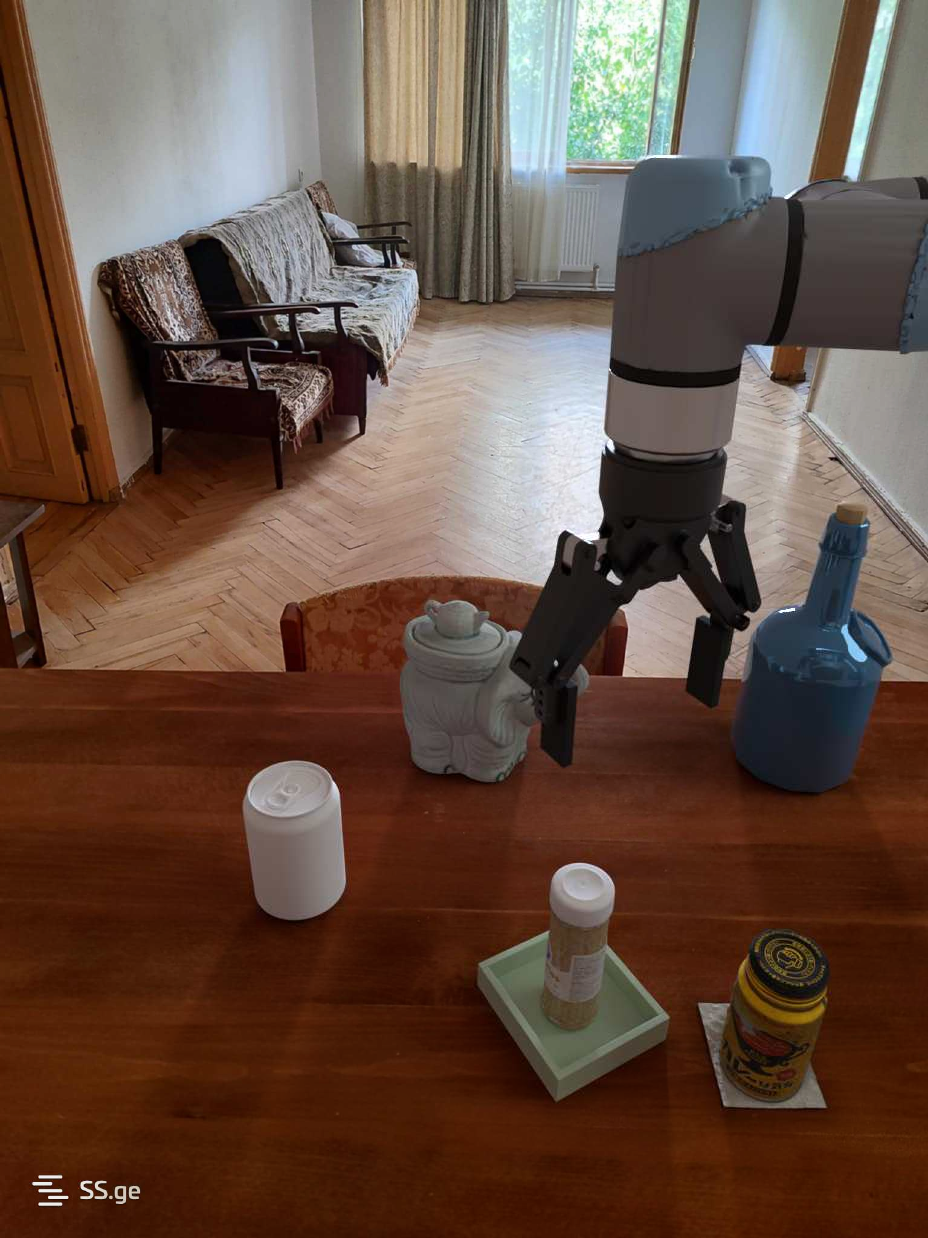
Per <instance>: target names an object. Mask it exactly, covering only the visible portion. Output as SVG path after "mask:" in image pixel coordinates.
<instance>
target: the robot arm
mask: <svg viewBox="0 0 928 1238" xmlns="http://www.w3.org/2000/svg"><path fill="white" fill-rule="evenodd" d="M771 180H772V169H771V165H770V163H769V161H767V160H766V159H765V158H763V157H760V156H753V155H731V154H729V155H722V154H721V155H720V154H715V155H714V154H662V155H659V154H658V155H651V156H648V157H645V158H643V159H642V160H639V162H637V164H636V165H635V166H634V167H633V168H632V170H630V171H629V173H628V175H627V178H626V180H625V187H624V197H623V202H622V203H623V204H622V212H621V217H620V218H621V220H620V225H619V226H620V227H619V234H618V243H617V251H616V262H615V278H614V293H613V305H612V307H613V308H612V321H611V336H610V337H611V338H610V350H609V351H610V352H609V363H608V372H607V373H608V374H607V375H608V376H607V386H606V398H605V412H604V421H603V422H604V423H603V431H604V434H605V436H607V438H608V439H607V441H605V442H604V443H603V444H602V447H601V455H600V456H601V457H600V466H599V467H600V469H599V481H598V496H599V500H600V503H601V507H602V512H603V516H602V517H603V518H602V521H601V524H600V525H599V528H598V529H597V532H596V533H589V534H582V535H581V534H578V533H576V532H574V531H573V530H572V529H571V530H570V529H565V530H563V531H561V533H560V534H559V535H558V538H557V543H556V549H555V554H554V562H553V566H552V568H551V570H550V572H549V575H548V577H547V579H546V581H545V583H544V585H543V588H542V590H541V592H540V594H539V597H538V599H537V601H536V603H535V604H534V605H535V606H534V608H533V610H532V611H531V614H530V617H529V619H528V621H527V623H526V626H525V627H524V630H523V632H522V633H521V634H522V636H521V639H520V641H519V643H518V645H517V648H516V650H515V652H514V654H513V656H512V659H511V661H510V664H509V668H510V670H511V671H512V672H513V673H514V674H516V675H517V676H518V677H519V678H520V679H522V680H523V681H524V682H525V683H526V684H527V685H529V686H530V687H531V688H532V689H535V703H534V704H535V705H534V713H535V715H536V717H537V718H538V719H539V720H540V721H541V722H540V742H539V748H540V749H541V750H542V751H543V752H544V753H546V754H547V755H548V756H549V757H550V758H551V759H552V760H553V761H554V762H555V763H556V764H558V766H559V767H561V768H562V769H565V768H568V767H571V766H572V765H573V757H574V756H573V755H574V744H575V743H574V742H575V731H576V718H577V716H576V715H577V704H578V698H577V692H578V685H577V684H575V683H574V682H573V681H572V680H570V678H571V677H572V676H573V674H574V673H575V671H576V670H577V668H578V667H579V665H580V664H581V665H582V662H583V661H584V660H585V659H586V657H587V655H589V652H590V651H591V650H592V648H593V646H594V645H595V644H596V643H597V641H598V639H600V637H601V636H602V634H603V632H604V631H605V629H606V628H607V626H608V625H609V624H610V622H611V621H612V619H613V618H614V616H615V615H616V614H617V612H618V610H619V609H620V607H622V606H625V605H628V604H630V603H631V602H632V601H633V599H634V598H635V596H636V595H637V594H638V592H639V591H644V590H647V589H650V588H652V587H654V586H656V585H657V584H659V583H670V582H674V581H677V580H678V577H679V576H680V578H681V579H682V580H683V582H684V583H685V585H686V586H687V587H688V589H689V590H690V591H691V593H692V594H693V595H694V597H695V598H696V600H697V601H698V603H699V604H700V605H701V607H702V608H703V609H704V611H705V612H706V613H708V614H709V617H708V616H706V615H705V614H702V615H699V616H696V617H695V623H694V630H693V637H692V643H691V649H690V656H689V663H688V670H687V677H686V682H685V688H684V689H685V690H684V692H686V693H687V694H689V695H690V696H691V697H693V698H695V699H696V700H697V701H699V702H700V703H702V704H703V705H705V706H706V707H707V708H709V709H713V708H715V707H717V706H719V700H720V696H721V689H722V684H723V679H724V673H725V667H726V661H728V659H729V657H730V655H731V650H732V645H733V640H734V639H733V638H734V634H735V630H736V631H738V632H739V633H743V632H745V631H746V630H747V629H748V628H749V627H750V624H751V618H750V617H749V616H747V615H745V614H747V612H749V613H751V614H754V613H756V612H757V611H759V609H760V608H761V607H762V597H761V594H760V590H759V585H758V581H757V577H756V576H757V575H756V573H755V569H754V565H753V560H752V557H751V553H750V549H749V544H748V541H747V536H746V532H745V528H746V516H747V504H746V503H744V502H742V501H740V500H737V499H736V498H733V497H731V496H728V495H726V494H724V493H723V489H724V483H725V478H726V470H727V463H728V454H727V452H726V450H725V449H724V448H725V447H726V446H727V445H728V444H729V443H730V442H731V441H732V437H733V436H732V435H733V430H734V422H735V415H736V408H737V401H738V394H739V387H740V380H741V372H742V364H743V358H744V354H745V351H746V347H747V346H762V347H794V348H795V347H796V348H816V349H836V350H838V349H839V350H858V351H859V350H860V351H878V352H879V351H880V352H899V355H908V354H910V353H919V352H921V353H922V352H928V174H920V175H919V176H910V177H909V176H908V177H907V176H905V177H891V178H879V179H869V180H860V181H859V180H858V181H848V180H846V179H842V178H827V179H826V178H825V179H820V180H815V181H811V182H809V183H806V184H804V185H801V186H799V187H798V188H797V187H796V189H794V190H792V191H791V192H790V193H789V194H787V195H786V196H785V197H784V196H774V195H773V191H774V189H773V187H772V185H771ZM706 536H707V538H708V542H709V546H710V549H711V553H712V556H713V559H714V564H715V566H716V570H717V574H718V577H719V578H718V577H717V575H716V574H715V572H714V570H713V564H712V562H711V561H710V559H709V558H708V557H707V556H706V554H705V552H704V550H702V545H701V544H702V543H703V540H705V537H706ZM610 572H612V574H613V575H614V576H615V577H616V578H617V579H618V580H620V581H621V582H620V583H619V584H616V583H614V582H612V581H611V580H609V579H608V575H610ZM555 660H556V661H557V662H558V665H557V666H556V665H554V662H555Z"/></svg>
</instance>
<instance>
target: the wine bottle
mask: <svg viewBox="0 0 928 1238" xmlns="http://www.w3.org/2000/svg"><path fill="white" fill-rule="evenodd" d="M868 513H869V509H868V507H867V506H866V504H864V503H862V502H859V501H855V500H843V501H841V502H840V503H838V504H837V506H836V509H835V512H833V513H830V515H829V517H828V519H827V521H826V524H825V526H824V529H823V532H822V535H821V537H820V540H819V542H818V543H817V547H818V548H819V550H818V553H817V558H816V561H815V565H814V568H813V572H812V576H811V579H810V583H809V586H808V590H807V593H806V597H805V599H804V601H801V602H796V603H793V604H790V605H786V606H781V607H779V608H775V609H773V610H771V611H769V612H768V613H767V614H766V615H765V616H764V617H763V618H762V620H761V621H760V622H759V624H758V625H757V627H756V628H755V630H754V631H753V632H752V634H751V635H750V638H749V642H748V646H747V651H746V656H745V661H744V666H743V671H742V677H741V681H740V685H739V689H738V695H737V699H736V700H737V701H736V705H735V710H734V714H733V720H732V725H731V730H730V734H729V738H730V741H731V744H732V748H733V752H734V753H735V757H736V760H737V762H738V764H739V765H741V766H742V767H743V768H744V769H746V770H747V771H748V772H750V774H752V775H753V776H754V777H756V778H757V779H758V780H759V781H761V782H765V783H767V784H769V785H773V786H775V787H778V788H781V789H783V790H786V791H788V792H799V793H800V792H802V793H824V792H826V791H829V790H831V789H834V788H837V787H839V786H842V785H845V783H846V782H848V781H849V780H850V778H851V776H852V773H853V771H854V768H855V767H856V765H857V762H858V758H859V755H860V752H861V748H862V745H863V742H864V739H865V735H866V731H867V729H868V726H869V722H870V718H871V715H872V712H873V709H874V705H875V701H876V698H877V695H878V691H879V688H880V685H881V681H882V678H883V675H884V672H885V668H886V667H888V666H889V665H891V664H892V663H893V659H894V657H893V654H892V651H891V648H890V646H889V644H888V641H887V639H886V638H885V636H884V634H883V633H882V631H881V629H880V628H879V627H878V625H877V624H876V623H875V622H874V620H873V619H871V617H869V616H868V615H866V614H865V613H863V612H862V611H861V610H859V609H858V608H856V607H855V608H853V606H854V601H855V597H856V593H857V587H858V583H859V579H860V578H859V577H860V573H861V568H862V565H863V559H864V558H865V557H866V555H867V554H868V553H869V550H868V546H869V538H870V530H871V521H870V520H869V519H868V517H867V516H868Z"/></svg>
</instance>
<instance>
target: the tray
mask: <svg viewBox="0 0 928 1238" xmlns="http://www.w3.org/2000/svg"><path fill="white" fill-rule="evenodd" d="M548 933H549V930H546V931H545V932H543V933H541V934H539V935H537V936H534V937H532V938H530V939H527V940H526V941H523V942H521V943H519V944H517V945H515V946H513V947H511V948H508V949H506V950H504V951H502V952H500V953H498V954H496V955H494V956H492V957H490V958H487V959H485V960H483V961H481V962H478V964H477V981H476V983H477V984H476V985H477V987H478V988H479V990H480V991H481V993H482V994H483V996H484V998H485V999H486V1000H487V1002H488V1004H489V1005H490V1006H491V1008H492V1009H493V1010H494V1012H495V1013H496V1015H497V1017H498V1018H499V1020H500V1021H501V1023H502V1024H503V1026H504V1027H505V1029H506V1031H508V1033H509V1034H510V1036H511V1038H512V1039H513V1041H514V1042H515V1043H516V1045H517V1047H518V1048H519V1050H520V1051H521V1052H522V1054H523V1056H524V1057H525V1059H526V1060H527V1062H528V1063H529V1064H530V1066H531V1068H532V1069H533V1070H534V1072H535V1073H536V1075H537V1076H538V1078H539V1080H540V1081H541V1082H542V1084H543V1085H544V1087H545V1088H546V1090H547V1091H548V1092H549V1094H550V1096H551V1097H552V1099H553V1100H554V1102H555V1103H557V1102H559V1101H561V1100H563V1099H565V1098H566V1097H568V1096H569V1095H571V1094H573V1093H575V1092H576V1091H578V1090H580V1089H581V1088H583V1087H585V1086H587V1085H589V1084H590V1083H592V1082H594V1081H596V1080H597V1079H599V1078H601V1077H602V1076H604V1075H606V1074H608V1073H610V1072H612V1071H613V1070H615V1069H617V1068H618V1067H621V1066H622V1065H623V1064H625V1063H627V1062H629V1061H631V1060H632V1059H634V1058H636V1057H638V1056H639V1055H641V1054H643V1053H645V1052H647V1051H648V1050H650V1049H651V1048H653V1047H655V1046H657V1045H659V1044H660V1043H662V1042H664V1041H665V1040H666V1039H667V1034H668V1029H669V1024H670V1020H671V1017H670V1016H669V1014H667V1012H666V1011H665V1010H664V1009H663V1008H662V1007H661V1005H660V1004H659V1003H658V1002H657V1001H656V999H655V998H654V997H653V996H652V995H651V994H650V993H649V991H648V990H647V989H646V988H645V987H644V986H643V984H641V982H640V981H639V980H638V978H637V977H636V976H635V975H634V974H633V973H632V972H631V971H630V970H629V968H628V967H627V966H626V965H625V963H624V962H623V961H622V960H621V959H620V958H619V957H618V956H617V955H616V953H615V952H614V950H612V948H611V947H610V946H609V945H608V944H607V945H606V953H605V960H604V967H603V974H602V980H601V986H600V989H599V995H598V1013H597V1016H596V1017H595V1019H594V1021H593V1022H592V1023H591V1024H590V1025H588V1026H586V1027H584V1028H581V1029H578V1030H568V1029H564V1028H560V1027H558V1026H557V1025H555V1024H553V1023H552V1022H551V1021H550V1020H549V1019H548V1018H547V1017H546V1016H545V1014H544V1012H543V1009H542V1007H541V996H542V992H543V990H544V979H545V977H544V972H545V963H546V954H547V944H548Z"/></svg>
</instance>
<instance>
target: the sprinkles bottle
mask: <svg viewBox="0 0 928 1238" xmlns="http://www.w3.org/2000/svg"><path fill="white" fill-rule="evenodd" d="M615 888H616V887H615V885H614V882H613V880H612V878H611V877H610V875H609V874H608V873H607V872H605V870H603V869H601V868H600V867H598V866H596V865H593V864H589V863H584V862H576V863H569V864H566V865H564V866H562V867H560V868H559V869H558V870H557V871H556V872H555V873H554V875H552V879H551V881H550V888H549V889H550V890H549V905H550V908H551V909H550V920H549V929H548V931H549V933H548V944H547V954H546V963H545V972H544V977H545V979H544V990H543V992H542V996H541V1007H542V1009H543V1012H544V1014H545V1016H546V1017H547V1018H548V1019H549V1020H550V1021H551V1022H552V1023H553V1024H555V1025H557V1026H558V1027H560V1028H564V1029H568V1030H578V1029H581V1028H584V1027H586V1026H588V1025H590V1024H591V1023H592V1022H593V1021H594V1019H595V1017H596V1016H597V1013H598V995H599V989H600V986H601V980H602V974H603V967H604V960H605V953H606V945H608V932H609V931H608V930H609V923H610V916H611V915H612V913H613V911H614V905H615V898H616V897H615V896H616V895H615V894H616V889H615Z"/></svg>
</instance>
